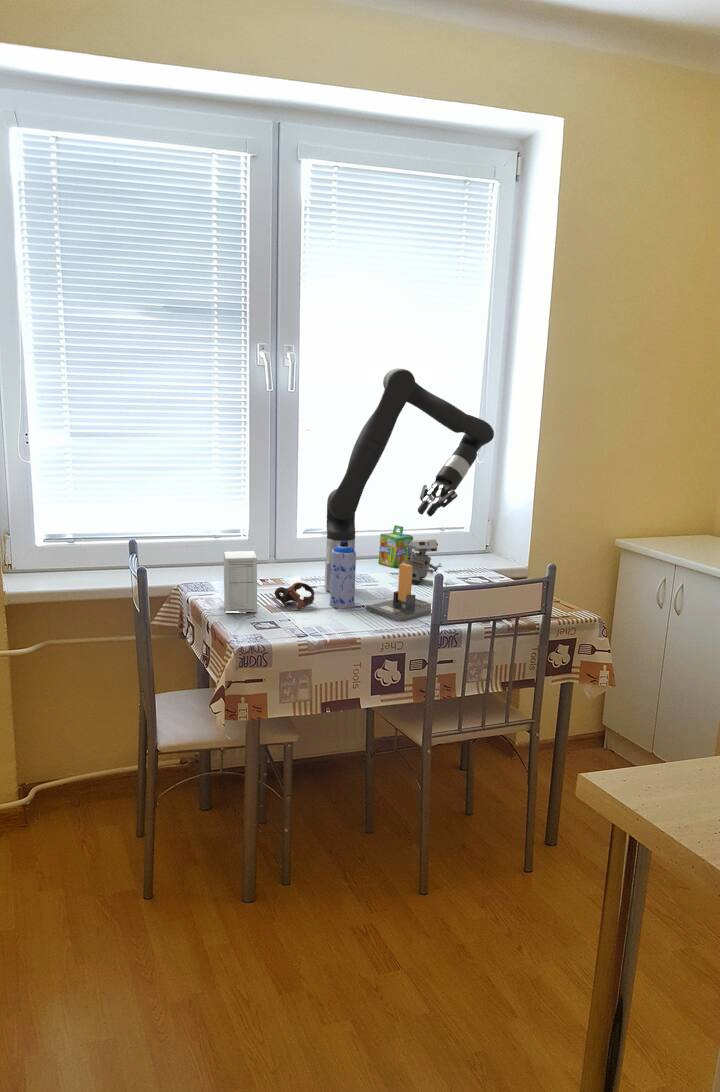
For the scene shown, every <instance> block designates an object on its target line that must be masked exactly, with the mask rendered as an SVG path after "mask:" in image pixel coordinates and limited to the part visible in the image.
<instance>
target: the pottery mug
mask: <svg viewBox="0 0 720 1092" xmlns="http://www.w3.org/2000/svg"><path fill="white" fill-rule="evenodd" d="M301 588H304V591H306V592H309V593H310V594H311V595H309V596H303V599H301V594H299V593H298V592H297V591H298V590H300V589H301ZM281 594H282V595H281ZM274 597H275V598H276V599H277V600H278V601H280V602H281V604H282V605H285V604H286V603H287V602H296V603H297V605H296V607H295V608H296V610H298V611H302V610H303V609H304V608H305V607H308V606H310V605H312V604H313V603H314V600H315V590H314V589H313V587H312V586H310V585H309V584H308V583H305V582H294V583H293V584H292V585H291V586H289V587H283V586H280V587H279V586H278V587H277V588H276V589H275V591H274Z"/></svg>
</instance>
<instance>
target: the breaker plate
mask: <svg viewBox="0 0 720 1092" xmlns="http://www.w3.org/2000/svg"><path fill="white" fill-rule="evenodd" d="M416 596H417V595H416V594H413V593H412V594H411V595H408V596H406V605H405V604H402V603H399V602H398V601H397V599H398V590H397V591H393V597H392V600H386V601H381V602H377V603H372V604H367V605H366V607H365V610H366V611H367V612H370V613H372V614H376V615H377V616H381V617H384V618H387V619H390V620H392V619H393V621H395V620H396V621H395V622H398V621H400V622H403V620H404V621H407V620H412V619H416V618H420V617H424V616H430V615H431V614H430V613H431V604H432V603H430V602H427V601H423V600H420V599H418V598H417V597H416Z"/></svg>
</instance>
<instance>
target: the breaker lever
mask: <svg viewBox="0 0 720 1092" xmlns="http://www.w3.org/2000/svg"><path fill="white" fill-rule="evenodd" d="M412 566H413V565H409V564H405V563H403V564H400V565H399V567H398V569H399V570H398V587H397V588H398V589H397V591H398V599H397V601H398V602H399V603H402V604H405V605H406V596H408V595H412V585H413V584H412Z"/></svg>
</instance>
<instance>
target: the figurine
mask: <svg viewBox="0 0 720 1092" xmlns="http://www.w3.org/2000/svg"><path fill="white" fill-rule="evenodd" d="M438 545H439V544H438V542H437V539H435V538H434V539H413V540H410V541H409V542H408V547H409V548H412V553H411V554H410V555H408V558H407V563H406V564H409V565H413V566H412V583H413V584H415V585H418V584H419V585H420V584H421V583H422V582H421V579H420V578H424V579H425V578H426V577H427V576H428V574H429V573H430V574H433V573H434V572H435V573H436V574H438V570H439V568H443V567H442V565H441V563H438V565H437V566H435V565H433V564H432V563H431V559H432V557H430V556H429V555H428V554H426V553H427V552H437V551H438Z"/></svg>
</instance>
